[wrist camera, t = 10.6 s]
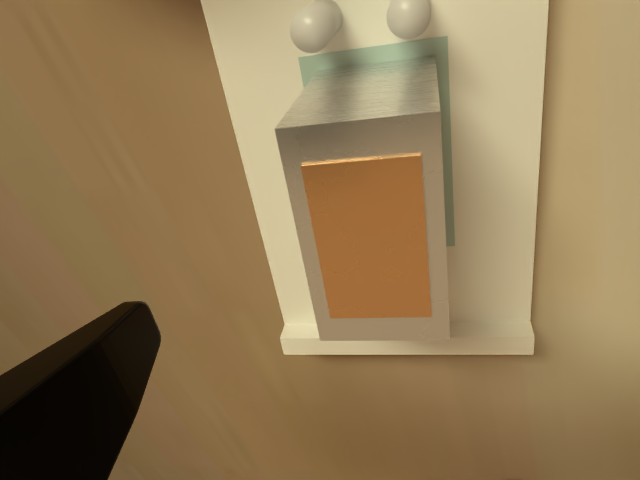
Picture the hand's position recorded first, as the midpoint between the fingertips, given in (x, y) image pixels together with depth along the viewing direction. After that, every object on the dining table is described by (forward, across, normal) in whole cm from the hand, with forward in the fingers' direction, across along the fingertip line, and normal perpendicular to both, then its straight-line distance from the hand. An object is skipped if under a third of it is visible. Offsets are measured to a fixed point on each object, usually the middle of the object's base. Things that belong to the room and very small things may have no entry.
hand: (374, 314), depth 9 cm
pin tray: (+12, +1, +2) cm, 12 cm away
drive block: (+11, +1, +2) cm, 11 cm away
